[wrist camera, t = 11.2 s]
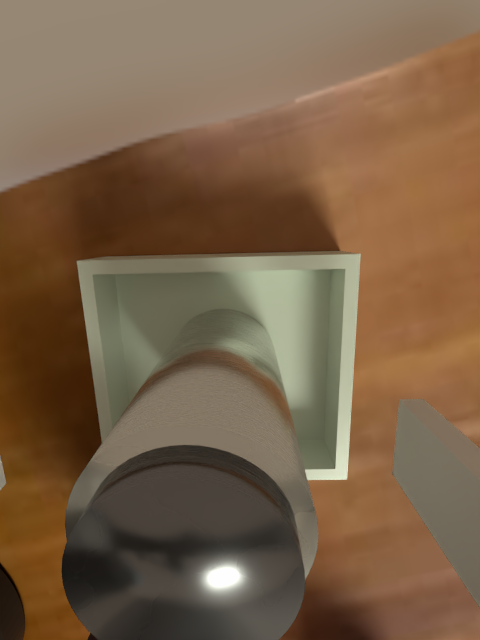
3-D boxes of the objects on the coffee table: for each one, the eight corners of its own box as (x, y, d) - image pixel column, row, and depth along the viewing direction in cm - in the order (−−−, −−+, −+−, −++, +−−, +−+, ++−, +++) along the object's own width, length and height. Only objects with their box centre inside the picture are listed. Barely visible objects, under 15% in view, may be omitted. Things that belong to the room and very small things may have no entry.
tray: (128, 445, 20) (107, 481, 17) (105, 256, 17) (76, 260, 14) (331, 442, 20) (347, 479, 17) (340, 250, 17) (360, 253, 14)
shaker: (175, 406, 19) (61, 686, 7) (168, 309, 17) (13, 458, 6) (275, 405, 19) (324, 687, 7) (275, 307, 17) (335, 455, 6)
